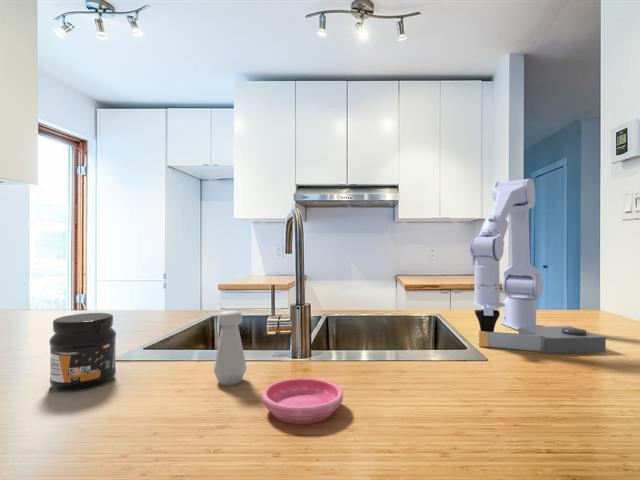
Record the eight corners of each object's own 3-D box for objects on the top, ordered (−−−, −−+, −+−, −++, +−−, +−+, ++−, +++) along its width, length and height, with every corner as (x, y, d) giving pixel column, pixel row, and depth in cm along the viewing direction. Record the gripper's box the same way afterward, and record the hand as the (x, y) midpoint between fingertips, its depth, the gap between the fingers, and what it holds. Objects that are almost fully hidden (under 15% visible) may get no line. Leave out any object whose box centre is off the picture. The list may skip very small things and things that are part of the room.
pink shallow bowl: (299, 389, 69) (299, 371, 69) (358, 408, 61) (358, 388, 61) (244, 413, 59) (244, 392, 59) (306, 440, 51) (306, 416, 51)
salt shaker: (242, 387, 69) (242, 314, 69) (210, 387, 69) (210, 314, 69) (249, 376, 75) (248, 308, 75) (219, 376, 75) (219, 308, 75)
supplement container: (38, 396, 65) (38, 325, 65) (62, 375, 76) (62, 313, 76) (108, 389, 68) (108, 321, 68) (121, 370, 78) (121, 310, 78)
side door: (479, 346, 95) (479, 331, 95) (479, 344, 96) (478, 330, 96) (540, 351, 90) (540, 336, 90) (539, 350, 91) (539, 335, 91)
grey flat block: (518, 340, 101) (518, 324, 101) (570, 339, 102) (570, 323, 102) (548, 353, 89) (548, 334, 89) (605, 352, 90) (605, 333, 90)
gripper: (507, 289, 88) (507, 349, 88) (502, 282, 102) (502, 334, 102) (474, 287, 90) (474, 346, 90) (473, 281, 104) (473, 332, 104)
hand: (487, 339), depth 96 cm, fingers closed
